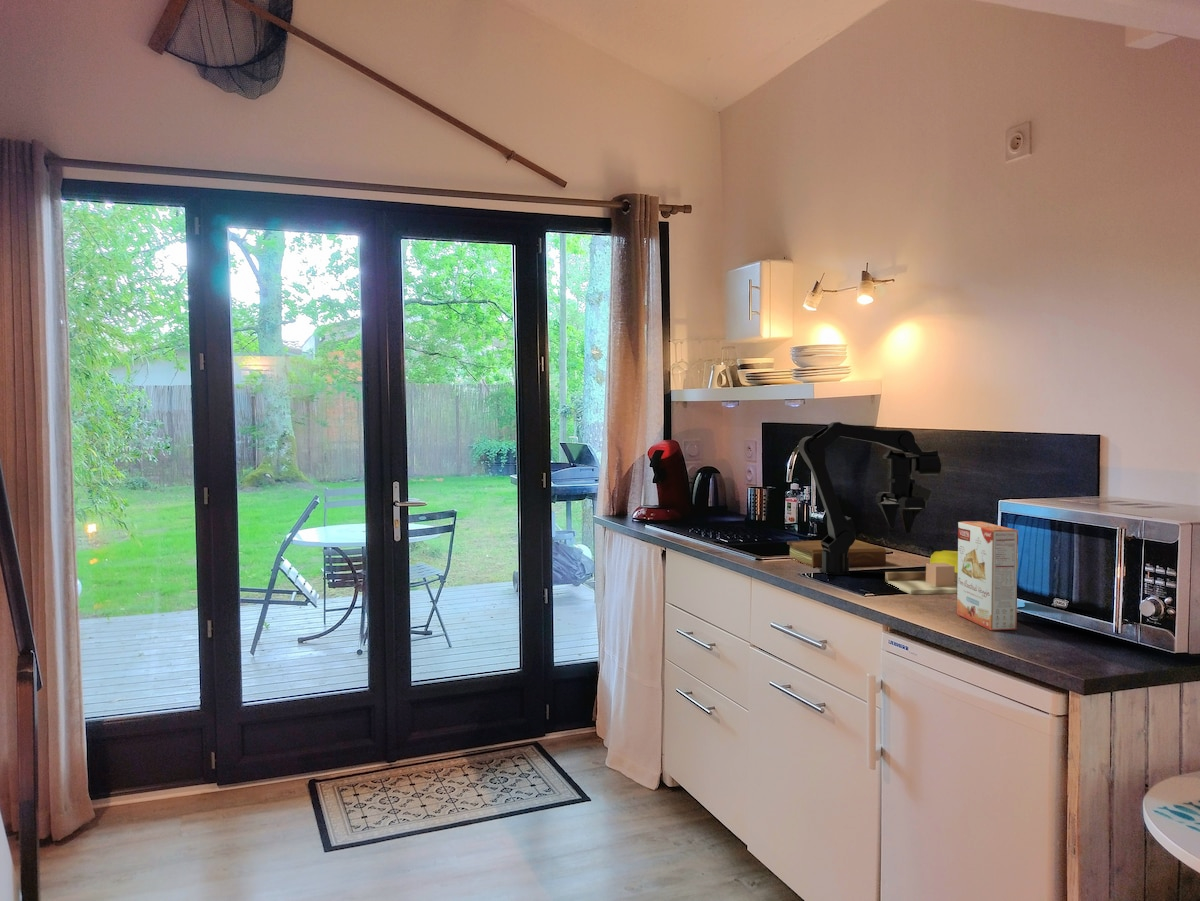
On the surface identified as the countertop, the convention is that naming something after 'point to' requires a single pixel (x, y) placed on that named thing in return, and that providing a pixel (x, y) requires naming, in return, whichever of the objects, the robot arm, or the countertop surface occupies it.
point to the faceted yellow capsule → (945, 558)
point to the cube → (940, 574)
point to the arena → (917, 583)
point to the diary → (857, 553)
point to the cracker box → (987, 575)
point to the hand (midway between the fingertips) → (899, 530)
